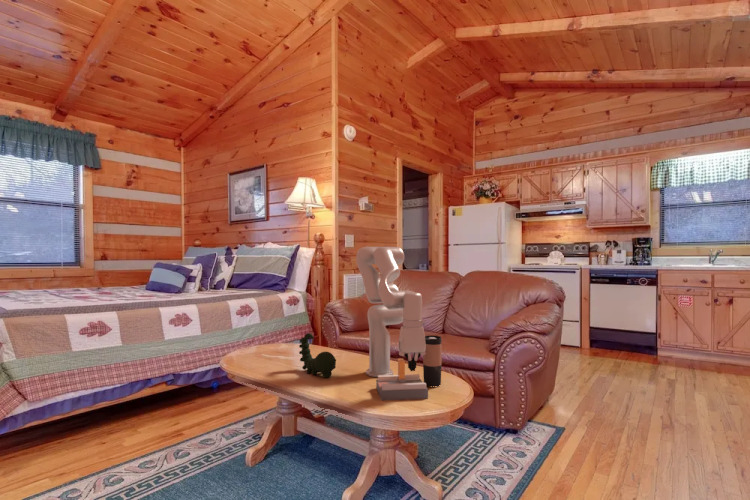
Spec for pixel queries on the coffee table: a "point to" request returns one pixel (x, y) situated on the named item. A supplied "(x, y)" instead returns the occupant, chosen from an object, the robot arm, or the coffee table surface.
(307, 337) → the toy figurine
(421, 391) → the breaker block
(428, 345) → the travel mug
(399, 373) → the breaker lever
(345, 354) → the coffee table surface
